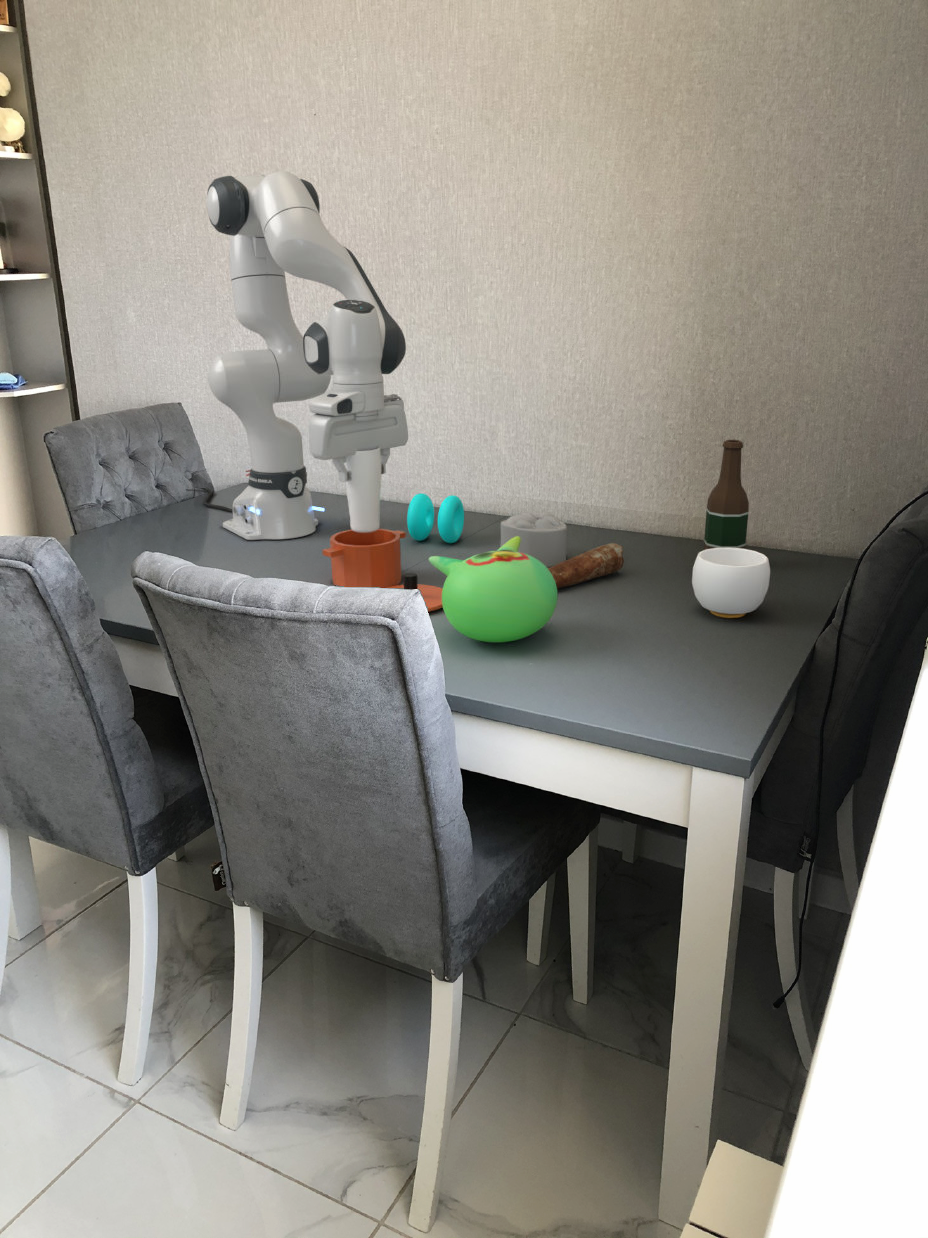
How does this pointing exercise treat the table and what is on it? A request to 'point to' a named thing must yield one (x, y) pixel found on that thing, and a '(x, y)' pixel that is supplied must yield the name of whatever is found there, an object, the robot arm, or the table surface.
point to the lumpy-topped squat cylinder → (537, 536)
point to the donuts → (423, 518)
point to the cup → (730, 580)
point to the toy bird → (497, 593)
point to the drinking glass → (364, 490)
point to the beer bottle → (727, 503)
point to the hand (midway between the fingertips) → (362, 477)
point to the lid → (423, 591)
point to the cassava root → (588, 565)
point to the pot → (366, 558)
